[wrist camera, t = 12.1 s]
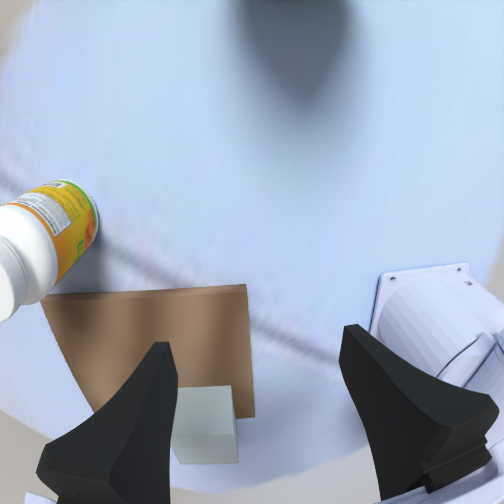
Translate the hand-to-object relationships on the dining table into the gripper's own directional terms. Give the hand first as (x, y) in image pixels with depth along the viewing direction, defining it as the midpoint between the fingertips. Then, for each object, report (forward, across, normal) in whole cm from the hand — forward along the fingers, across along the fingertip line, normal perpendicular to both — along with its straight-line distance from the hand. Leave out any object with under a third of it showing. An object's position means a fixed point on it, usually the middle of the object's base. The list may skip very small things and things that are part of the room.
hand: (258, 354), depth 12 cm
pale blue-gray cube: (+8, +4, +14) cm, 17 cm away
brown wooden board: (+9, +8, +9) cm, 15 cm away
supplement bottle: (+10, +12, -4) cm, 16 cm away
